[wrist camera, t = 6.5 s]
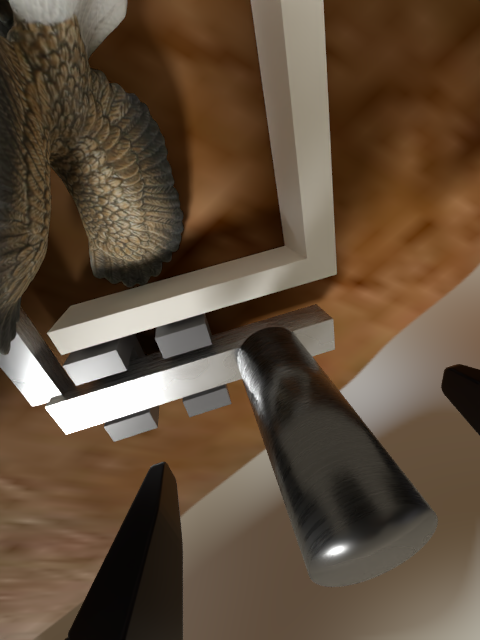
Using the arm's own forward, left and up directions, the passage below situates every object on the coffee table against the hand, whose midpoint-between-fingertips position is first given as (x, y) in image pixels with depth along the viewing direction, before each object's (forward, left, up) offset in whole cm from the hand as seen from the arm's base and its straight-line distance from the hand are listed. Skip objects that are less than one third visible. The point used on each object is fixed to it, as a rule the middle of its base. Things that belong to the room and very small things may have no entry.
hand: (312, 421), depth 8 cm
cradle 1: (-7, 0, -7) cm, 10 cm away
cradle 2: (-3, 0, -7) cm, 8 cm away
